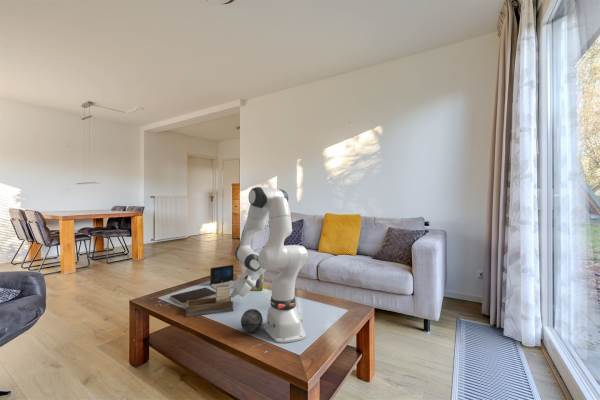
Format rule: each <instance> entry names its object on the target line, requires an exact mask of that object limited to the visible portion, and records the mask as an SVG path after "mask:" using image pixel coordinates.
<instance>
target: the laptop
mask: <svg viewBox="0 0 600 400" xmlns="http://www.w3.org/2000/svg"><path fill="white" fill-rule="evenodd" d="M234 266H235V265H234V264H227V265H221V266H213V267H210V270H209V271H210V275H209V276H210V279H209V286H210V287H211V288H212V289H215V290H216V286H219V285H229V287H230V289H231V288H235V286H234V282H235V281H236V280H235V281H234V270H235V269H234Z"/></svg>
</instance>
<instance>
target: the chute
mask: <svg viewBox="0 0 600 400" xmlns="http://www.w3.org/2000/svg"><path fill="white" fill-rule="evenodd" d="M185 305H186V306H185V318H190V317H191V318H192V317H196V316H197V317H198V316H207V315H211V314H212V315H213V314H220V313H221V314H222V313H228V312H229V313H230V312H234V302H233V300H232V297H231V295H230V302H221V303H216V296H214V297H210V298H204V299H195V300H187V303H186V304H185Z"/></svg>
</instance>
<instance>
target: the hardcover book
mask: <svg viewBox="0 0 600 400" xmlns="http://www.w3.org/2000/svg"><path fill="white" fill-rule="evenodd" d="M214 297H216V290H212V289H210V288H208V287H201V288H197V289H193V290H188V291H185V292H181V293H176V294H172V295H170V297H169V299H171V298H172V299H171V300H173V301H174V300H175V302H176V303H178V304H179V305H181V306H185V305H186V303H187V300H195V299H204V298H214Z"/></svg>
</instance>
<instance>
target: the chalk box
mask: <svg viewBox="0 0 600 400" xmlns="http://www.w3.org/2000/svg"><path fill="white" fill-rule="evenodd" d="M264 280H265V272H264V273H263V274H262V275H261V276H260V277H259V279H258V280H257V281H256V285H255V287H252V288H251V291H263V289H264V287H265V284H264V283H265V281H264Z"/></svg>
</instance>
